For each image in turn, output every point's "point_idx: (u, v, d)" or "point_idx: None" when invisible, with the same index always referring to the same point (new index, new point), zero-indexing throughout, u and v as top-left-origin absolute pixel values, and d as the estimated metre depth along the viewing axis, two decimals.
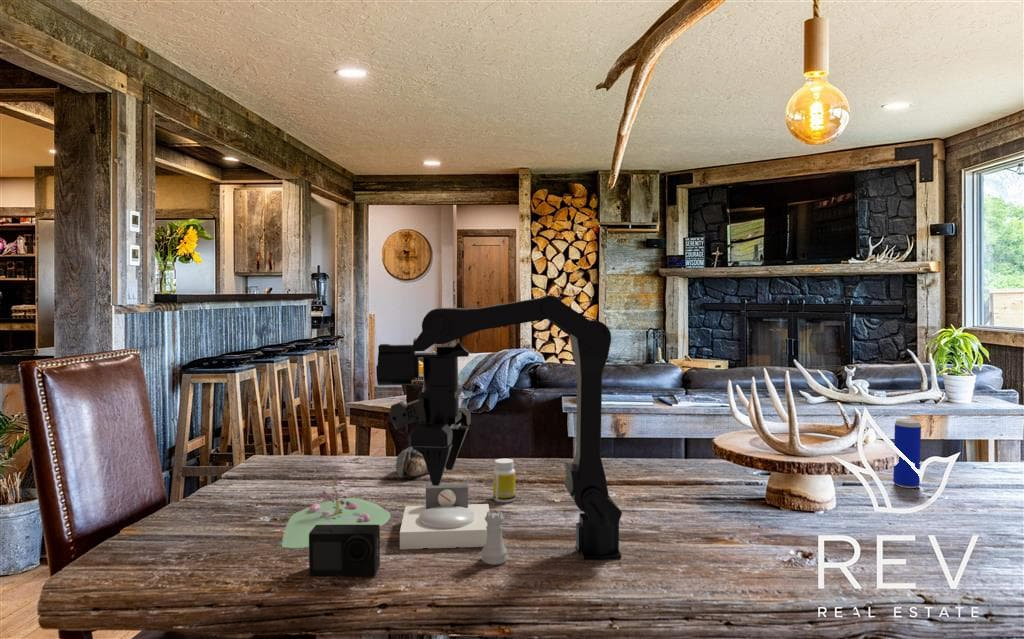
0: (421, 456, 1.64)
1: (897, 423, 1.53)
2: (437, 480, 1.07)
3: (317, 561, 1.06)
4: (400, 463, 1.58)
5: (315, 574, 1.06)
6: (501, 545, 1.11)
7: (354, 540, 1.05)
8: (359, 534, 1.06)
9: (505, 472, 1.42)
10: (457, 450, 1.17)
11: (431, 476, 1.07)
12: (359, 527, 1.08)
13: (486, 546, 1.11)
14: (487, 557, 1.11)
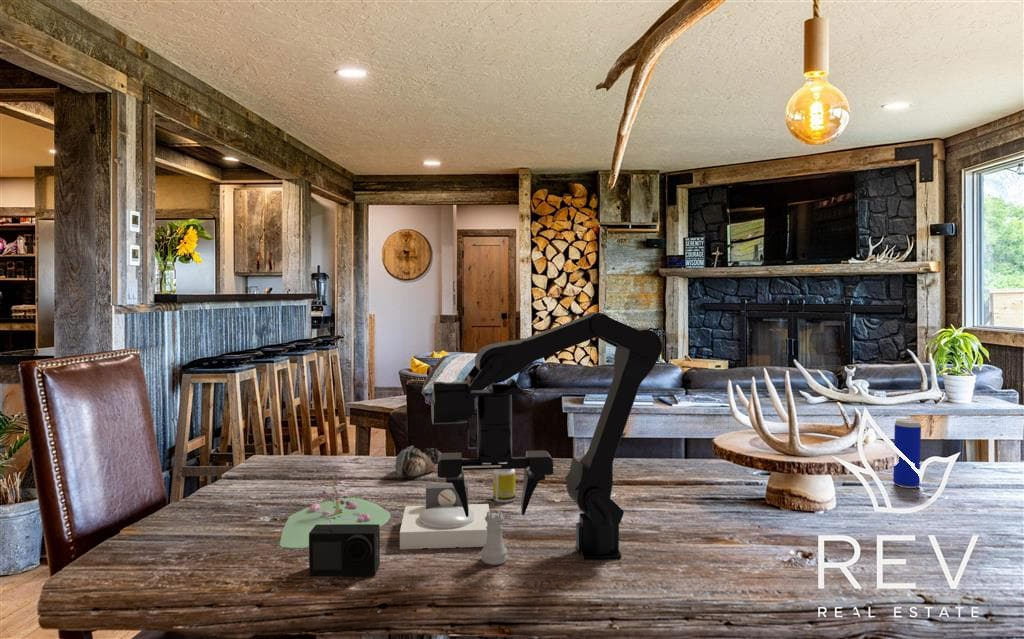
0: (420, 456, 1.64)
1: (897, 423, 1.53)
2: None
3: (317, 561, 1.06)
4: (399, 463, 1.58)
5: (315, 574, 1.06)
6: (501, 545, 1.11)
7: (354, 540, 1.05)
8: (359, 534, 1.06)
9: (505, 472, 1.42)
10: (524, 496, 1.11)
11: None
12: (359, 527, 1.08)
13: (486, 546, 1.11)
14: (487, 557, 1.11)
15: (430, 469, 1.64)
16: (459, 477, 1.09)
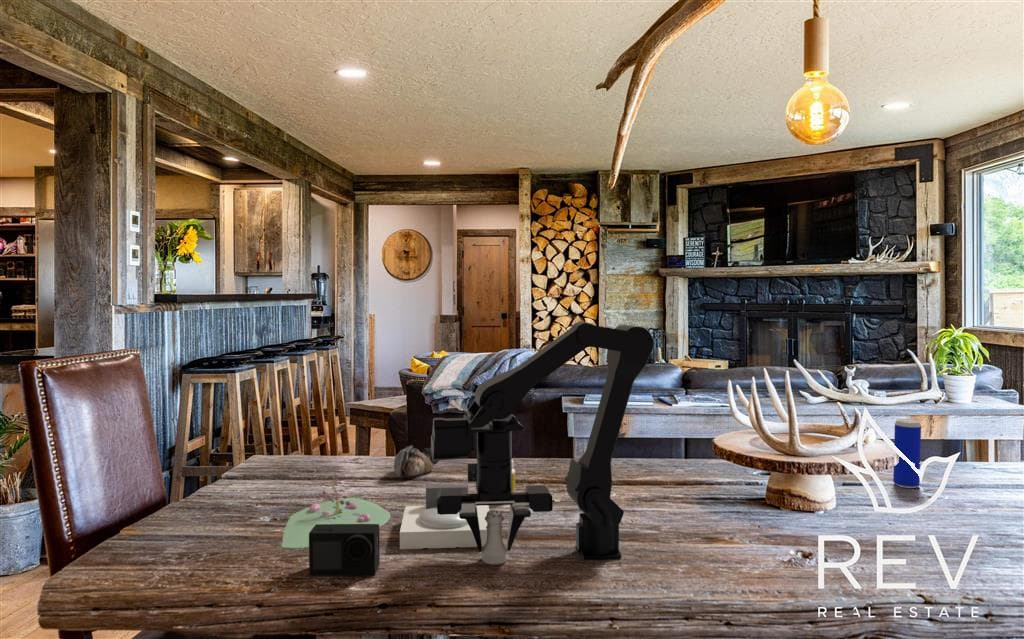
0: (419, 456, 1.64)
1: (897, 423, 1.53)
2: (477, 546, 1.11)
3: (317, 560, 1.06)
4: (398, 463, 1.58)
5: (315, 573, 1.06)
6: (501, 545, 1.11)
7: (354, 539, 1.05)
8: (359, 533, 1.06)
9: None
10: (509, 533, 1.11)
11: None
12: (359, 526, 1.09)
13: (486, 546, 1.11)
14: (487, 557, 1.11)
15: (429, 469, 1.64)
16: (473, 513, 1.09)
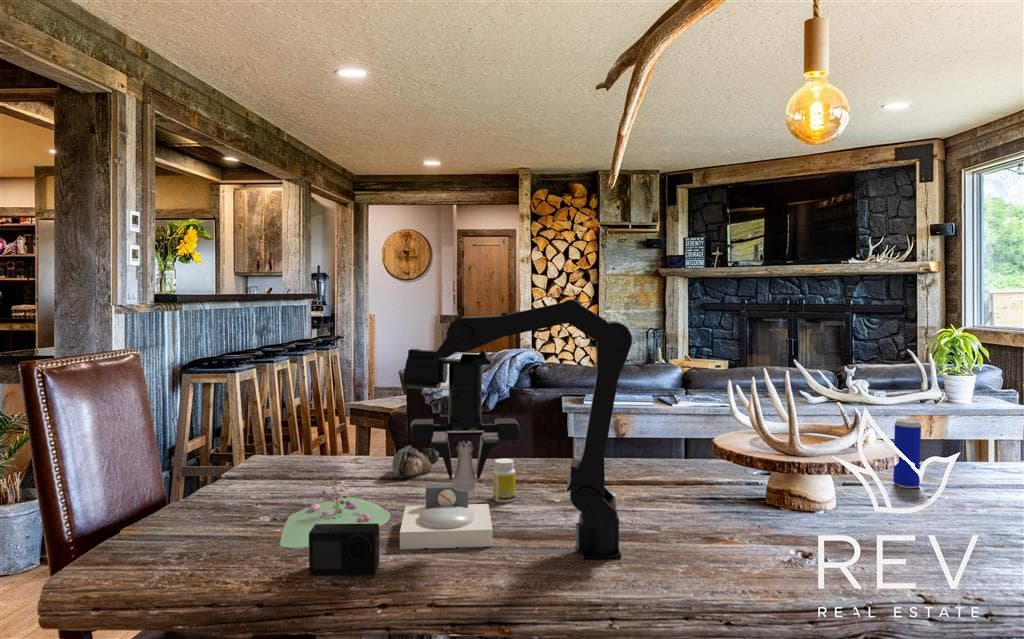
0: (418, 456, 1.64)
1: (897, 423, 1.53)
2: (448, 474, 1.17)
3: (317, 560, 1.06)
4: (396, 463, 1.58)
5: (315, 573, 1.06)
6: (471, 473, 1.17)
7: (354, 539, 1.05)
8: (359, 533, 1.06)
9: (505, 472, 1.42)
10: (479, 461, 1.16)
11: None
12: (359, 526, 1.09)
13: (456, 474, 1.17)
14: (457, 484, 1.16)
15: (427, 469, 1.64)
16: (444, 441, 1.15)
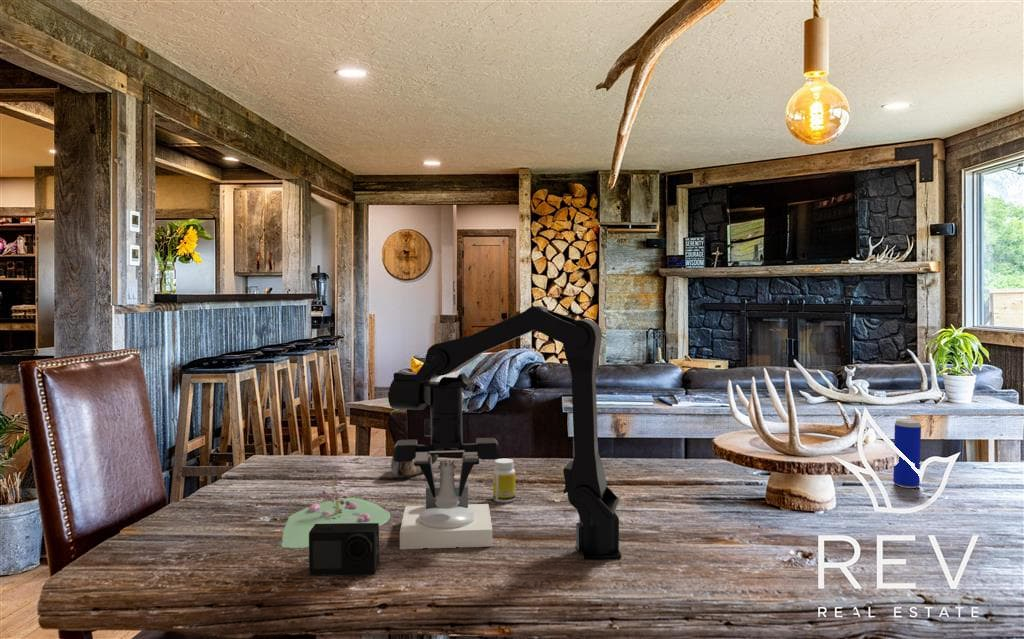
0: None
1: (897, 423, 1.53)
2: None
3: (317, 560, 1.06)
4: (395, 462, 1.58)
5: (315, 573, 1.06)
6: (453, 491, 1.22)
7: (354, 538, 1.05)
8: (359, 532, 1.06)
9: (505, 472, 1.42)
10: (460, 479, 1.22)
11: None
12: (359, 525, 1.09)
13: (439, 492, 1.22)
14: (440, 501, 1.21)
15: None
16: (426, 461, 1.20)
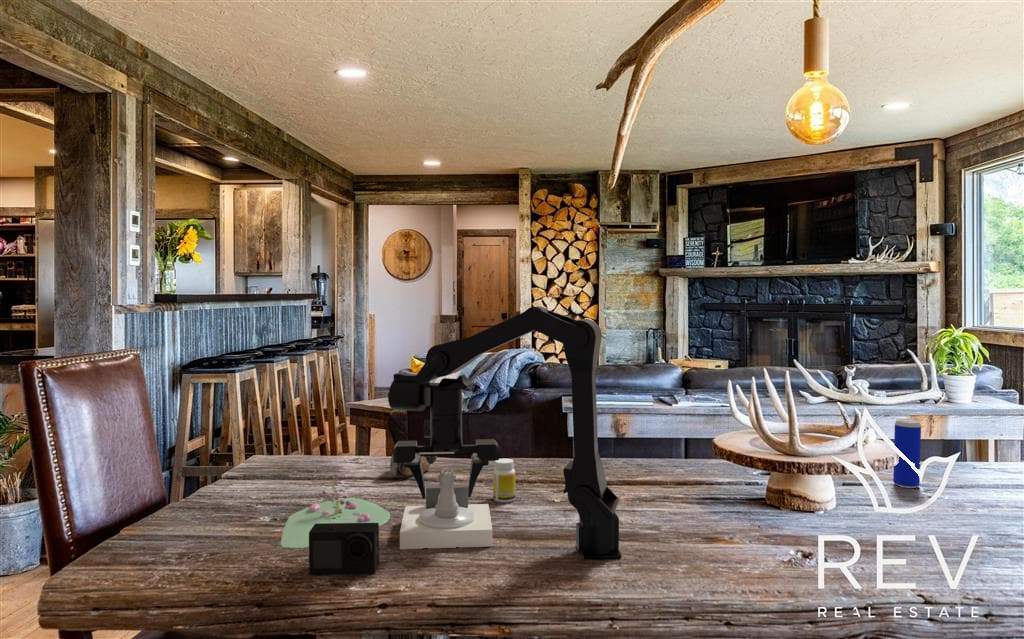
0: None
1: (897, 423, 1.53)
2: (421, 493, 1.22)
3: (317, 560, 1.06)
4: None
5: (315, 572, 1.06)
6: (453, 501, 1.22)
7: (354, 538, 1.06)
8: (359, 532, 1.06)
9: (505, 472, 1.42)
10: (469, 480, 1.22)
11: None
12: (359, 525, 1.09)
13: (439, 501, 1.22)
14: (440, 511, 1.22)
15: (425, 469, 1.65)
16: (416, 462, 1.20)
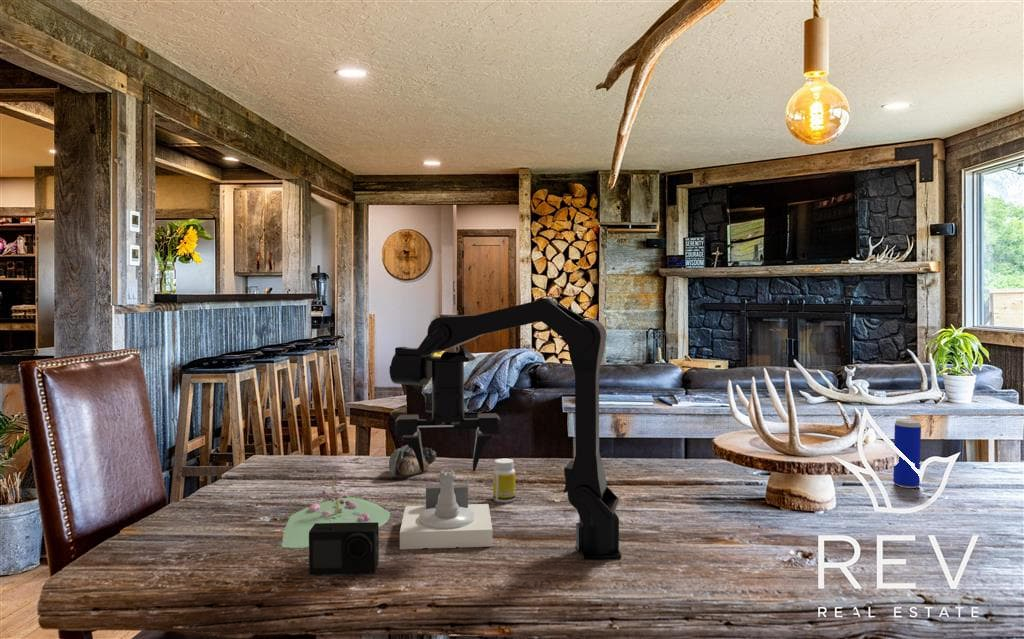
0: (414, 455, 1.64)
1: (897, 423, 1.53)
2: (420, 467, 1.22)
3: (317, 559, 1.06)
4: (393, 462, 1.59)
5: (315, 572, 1.07)
6: (453, 500, 1.22)
7: (354, 538, 1.06)
8: (359, 532, 1.06)
9: (505, 472, 1.42)
10: (474, 454, 1.21)
11: None
12: (358, 525, 1.09)
13: (439, 501, 1.22)
14: (439, 511, 1.22)
15: (424, 468, 1.65)
16: (415, 435, 1.20)
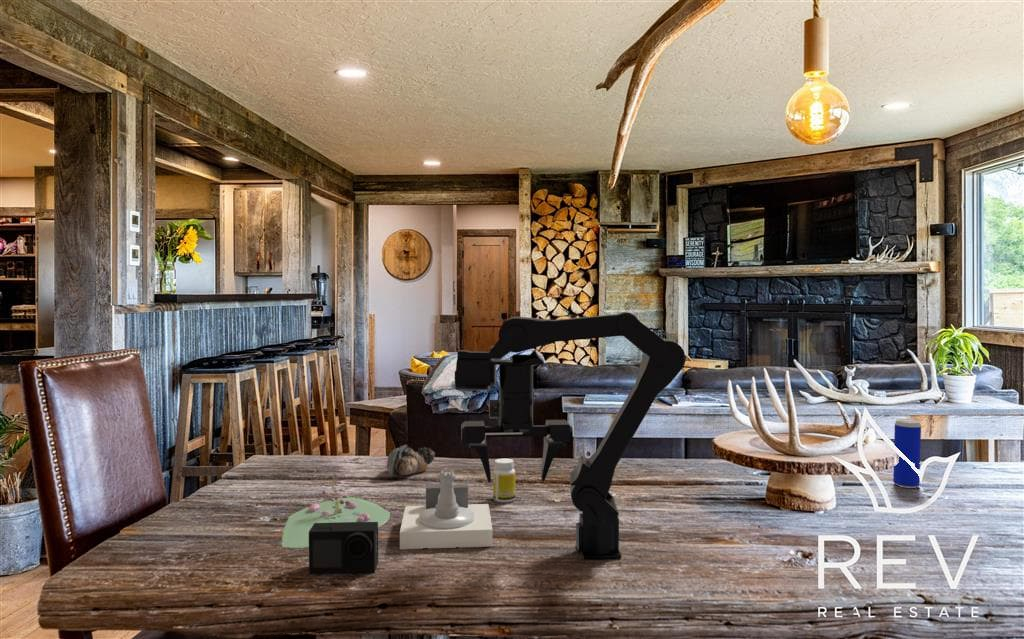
0: (413, 455, 1.65)
1: (897, 423, 1.53)
2: None
3: (317, 559, 1.07)
4: (391, 462, 1.59)
5: (315, 572, 1.07)
6: (453, 501, 1.22)
7: (354, 537, 1.06)
8: (359, 531, 1.07)
9: (505, 472, 1.42)
10: (544, 463, 1.15)
11: None
12: (358, 524, 1.10)
13: (439, 501, 1.22)
14: (439, 511, 1.22)
15: (422, 468, 1.65)
16: (482, 443, 1.13)
